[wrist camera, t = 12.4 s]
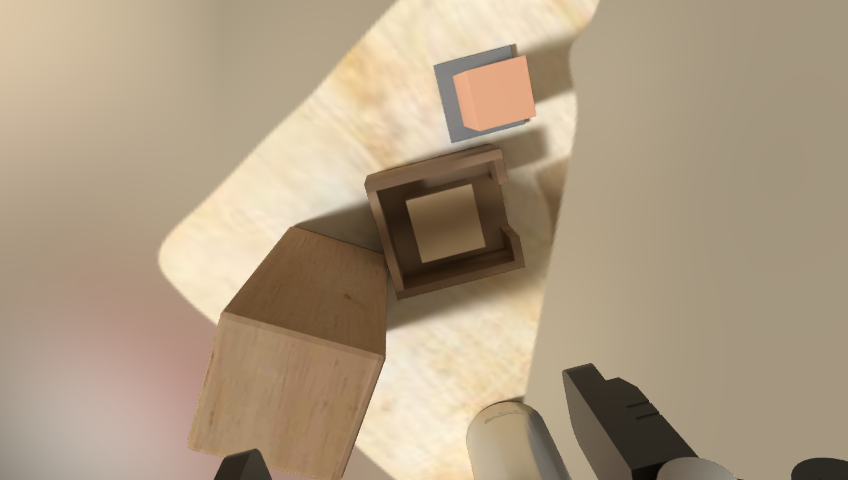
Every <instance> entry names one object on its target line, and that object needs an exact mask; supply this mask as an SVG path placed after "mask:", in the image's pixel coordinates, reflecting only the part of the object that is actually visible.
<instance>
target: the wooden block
mask: <svg viewBox="0 0 848 480" xmlns="http://www.w3.org/2000/svg"><path fill="white" fill-rule="evenodd" d="M386 308H387V261H386V257H385V255H384V254H381V253H378V252H375V251H371V250H368V249H365V248H362V247H359V246H355V245H352V244H349V243H346V242H342V241H339V240H336V239H333V238H330V237H326V236H323V235H320V234H317V233H313V232H310V231H307V230H304V229H301V228H297V227H290V228H289V229H288V230H287V231H286V233H285V234H284V235H283V236H282V238H281V239H280V240H279V241H278V243H277V244H276V245H275V246H274V248H273V249H272V250H271V251H270V253H269V254H268V255H267V256H266V258H265V259H264V260H263V261H262V263H261V264H260V265H259V266H258V268H257V269H256V270H255V271H254V273H253V274H252V275H251V276H250V278H249V279H248V280H247V281H246V283H245V284H244V285H243V286H242V288H241V289H240V290H239V291H238V293H237V294H236V295H235V296H234V298H233V299H232V300H231V301H230V303H229V304H228V305H227V306H226V308H225V309H224V310H223V311H222V313H221V315H220V319H219V323H218V327H217V331H216V334H215V338H214V342H213V346H212V350H211V354H210V357H209V361H208V365H207V369H206V372H205V376H204V380H203V384H202V388H201V392H200V395H199V399H198V403H197V407H196V411H195V414H194V418H193V422H192V426H191V430H190V434H189V437H188V447H189V448H190V449H192V450H194V451H198V452H203V453H207V454H211V455H216V456H220V457H224V458H225V457H226V456H228V455H231V454H235V453H239V452H243V451H247V450H251V449H255V448H256V449H258V450H259V451H260V452H261V454H262V456H263V459H264V461H265V464H266V466H267V468H272V469H276V470H281V471H285V472H290V473H293V474H298V475H302V476H306V477H311V478H316V479H319V480H340V479H341V478H342V476H343V474H344V471H345V468H346V466H347V463H348V460H349V458H350V455H351V452H352V449H353V447H354V444H355V441H356V438H357V436H358V433H359V430H360V427H361V425H362V422H363V419H364V416H365V414H366V411H367V408H368V405H369V403H370V400H371V397H372V395H373V392H374V389H375V386H376V384H377V381H378V378H379V375H380V373H381V370H382V367H383V364H384V362H385V359H386Z"/></svg>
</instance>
